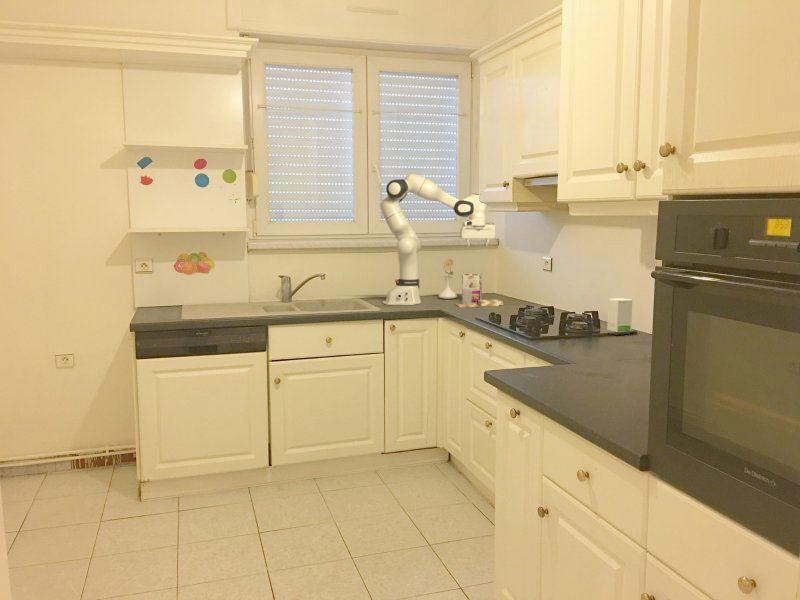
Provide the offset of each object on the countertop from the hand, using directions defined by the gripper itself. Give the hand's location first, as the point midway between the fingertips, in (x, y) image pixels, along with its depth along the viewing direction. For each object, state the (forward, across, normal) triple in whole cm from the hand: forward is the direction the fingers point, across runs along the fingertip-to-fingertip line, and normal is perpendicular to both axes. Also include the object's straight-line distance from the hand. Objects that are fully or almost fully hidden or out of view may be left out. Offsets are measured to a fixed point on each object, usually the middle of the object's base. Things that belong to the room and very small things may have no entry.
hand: (477, 246), depth 381 cm
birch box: (+33, -7, +4) cm, 34 cm away
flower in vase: (+33, +11, -26) cm, 44 cm away
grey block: (+33, +7, +5) cm, 34 cm away
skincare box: (+33, -36, +103) cm, 114 cm away
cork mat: (+33, +7, +5) cm, 34 cm away
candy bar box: (+33, -1, -15) cm, 37 cm away
